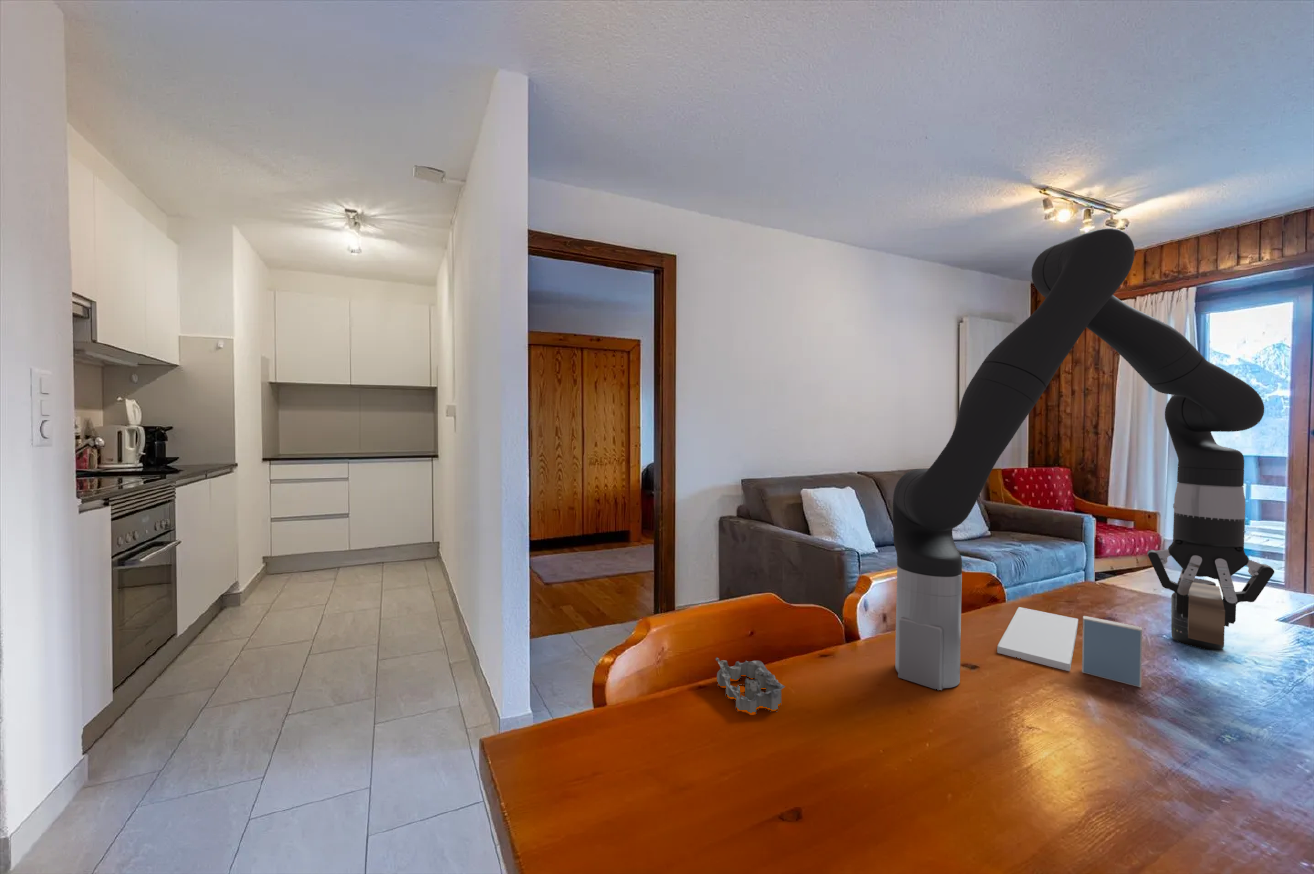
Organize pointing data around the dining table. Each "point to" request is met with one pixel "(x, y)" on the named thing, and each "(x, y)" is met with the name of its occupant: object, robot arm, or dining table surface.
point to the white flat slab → (1112, 650)
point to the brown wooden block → (1206, 614)
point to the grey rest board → (1040, 638)
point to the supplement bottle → (1181, 625)
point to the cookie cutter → (750, 685)
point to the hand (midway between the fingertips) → (1204, 620)
